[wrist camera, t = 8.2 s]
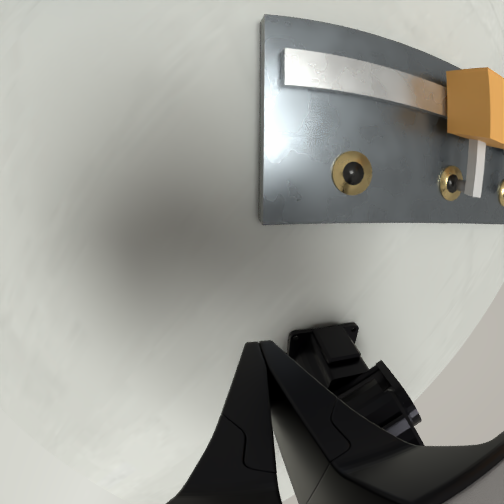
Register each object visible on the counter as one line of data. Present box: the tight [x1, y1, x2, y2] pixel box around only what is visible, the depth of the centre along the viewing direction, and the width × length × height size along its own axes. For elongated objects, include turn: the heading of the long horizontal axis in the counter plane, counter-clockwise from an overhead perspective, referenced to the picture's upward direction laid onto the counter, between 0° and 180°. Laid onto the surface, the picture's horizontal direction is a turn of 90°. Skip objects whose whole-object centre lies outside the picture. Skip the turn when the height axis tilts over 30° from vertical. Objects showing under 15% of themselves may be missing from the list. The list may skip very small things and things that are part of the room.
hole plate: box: [259, 14, 504, 225], centre depth 16 cm, size 14×30×7 cm, turn 90°
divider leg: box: [446, 67, 504, 198], centre depth 15 cm, size 10×6×5 cm, turn 0°
